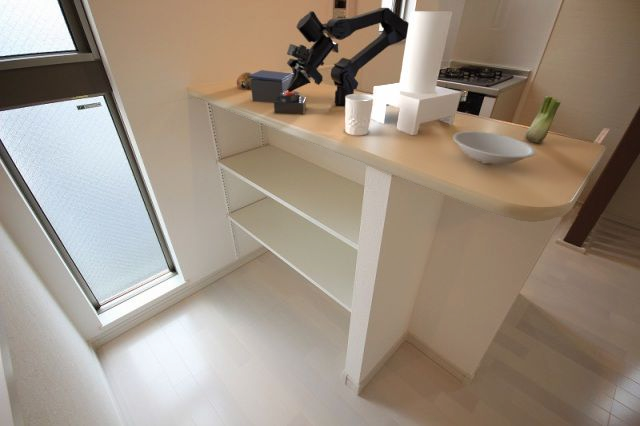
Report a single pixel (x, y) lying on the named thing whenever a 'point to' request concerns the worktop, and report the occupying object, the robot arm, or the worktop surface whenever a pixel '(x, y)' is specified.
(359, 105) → the white cup
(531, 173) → the worktop surface
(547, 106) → the fennel bulb
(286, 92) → the button
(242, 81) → the bread roll
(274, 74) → the lid
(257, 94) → the dark grey housing
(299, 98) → the red push button box
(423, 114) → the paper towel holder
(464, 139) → the dish
